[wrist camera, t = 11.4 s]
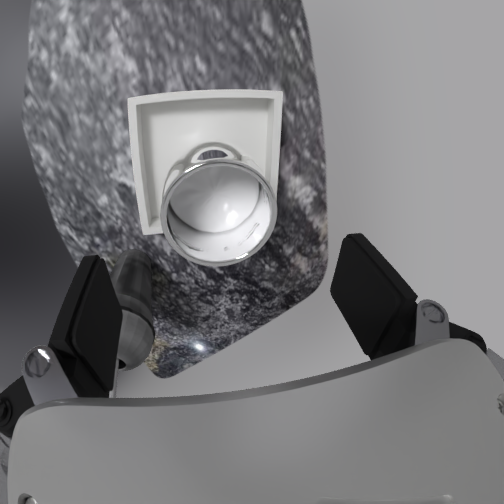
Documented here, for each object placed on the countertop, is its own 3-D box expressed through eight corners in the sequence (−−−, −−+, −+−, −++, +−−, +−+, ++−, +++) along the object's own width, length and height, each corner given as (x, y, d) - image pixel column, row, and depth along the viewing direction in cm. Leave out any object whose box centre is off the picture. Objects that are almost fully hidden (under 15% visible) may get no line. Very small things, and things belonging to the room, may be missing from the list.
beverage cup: (103, 274, 33) (67, 409, 16) (117, 230, 30) (69, 375, 14) (150, 292, 36) (142, 429, 19) (170, 252, 33) (165, 402, 17)
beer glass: (216, 112, 25) (239, 129, 12) (251, 164, 28) (300, 228, 16) (161, 151, 26) (130, 208, 13) (199, 199, 29) (206, 287, 17)
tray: (134, 97, 22) (127, 98, 20) (274, 91, 25) (282, 91, 22) (146, 222, 30) (143, 235, 28) (267, 213, 33) (274, 224, 30)
